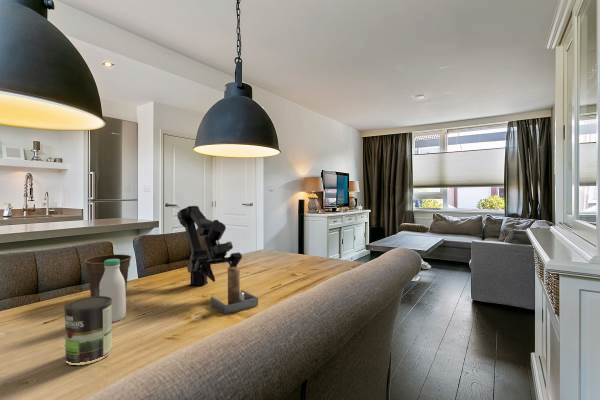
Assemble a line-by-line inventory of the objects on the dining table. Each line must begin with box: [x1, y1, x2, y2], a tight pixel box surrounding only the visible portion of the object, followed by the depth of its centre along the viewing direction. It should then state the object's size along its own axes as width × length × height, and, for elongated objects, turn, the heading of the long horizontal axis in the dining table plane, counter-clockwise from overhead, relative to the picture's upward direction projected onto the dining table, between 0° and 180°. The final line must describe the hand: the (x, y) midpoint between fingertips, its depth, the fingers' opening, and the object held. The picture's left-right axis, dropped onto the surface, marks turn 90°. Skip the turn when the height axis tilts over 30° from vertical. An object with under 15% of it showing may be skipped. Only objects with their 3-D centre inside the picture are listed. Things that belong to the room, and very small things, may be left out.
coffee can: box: [63, 296, 113, 363], centre depth 82 cm, size 10×10×14 cm
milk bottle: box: [99, 259, 127, 323], centre depth 106 cm, size 8×8×20 cm
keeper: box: [210, 290, 259, 315], centre depth 118 cm, size 12×14×6 cm
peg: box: [227, 266, 241, 304], centre depth 119 cm, size 4×4×14 cm
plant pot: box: [84, 254, 132, 297], centre depth 127 cm, size 16×16×16 cm
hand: (225, 279), depth 124 cm, fingers open, 9 cm apart
